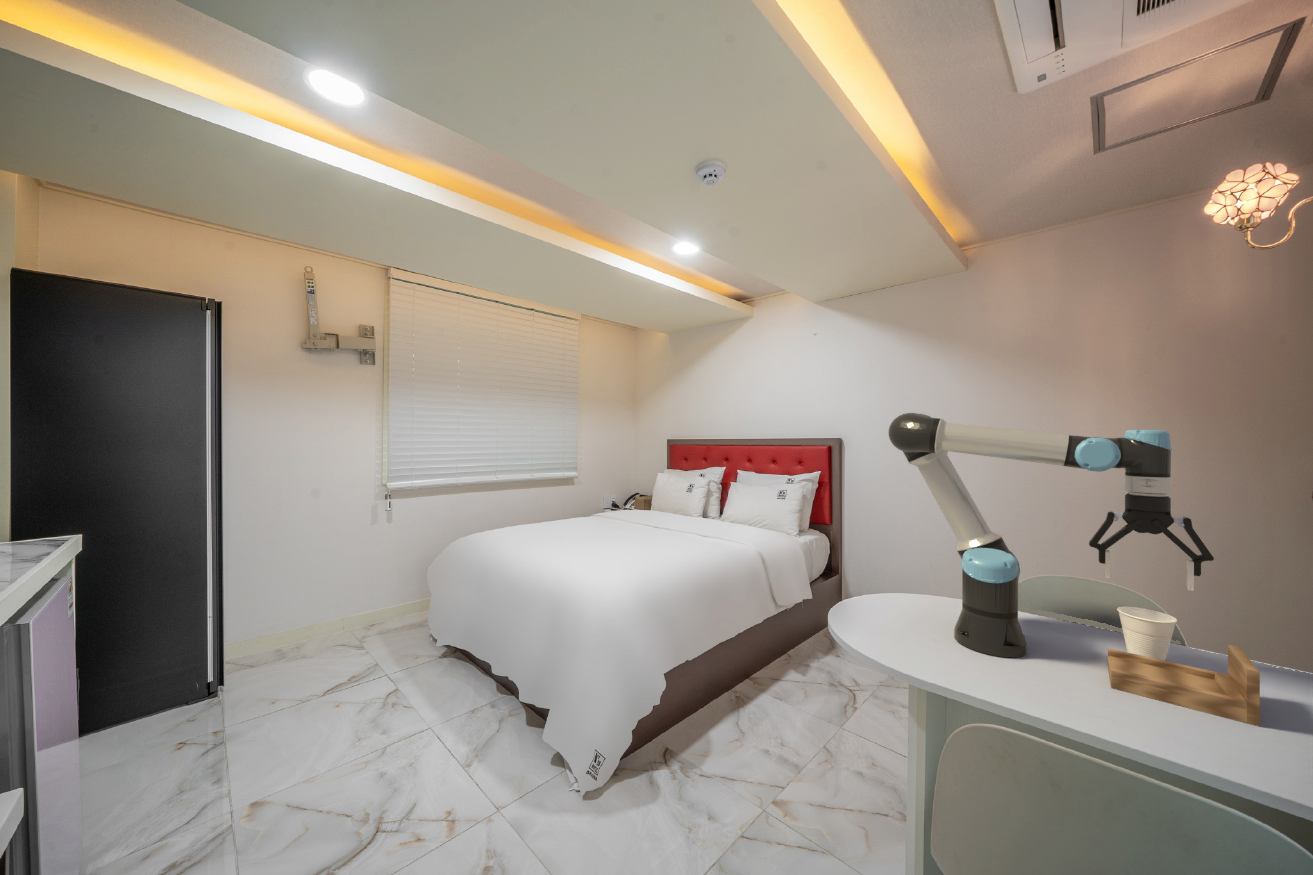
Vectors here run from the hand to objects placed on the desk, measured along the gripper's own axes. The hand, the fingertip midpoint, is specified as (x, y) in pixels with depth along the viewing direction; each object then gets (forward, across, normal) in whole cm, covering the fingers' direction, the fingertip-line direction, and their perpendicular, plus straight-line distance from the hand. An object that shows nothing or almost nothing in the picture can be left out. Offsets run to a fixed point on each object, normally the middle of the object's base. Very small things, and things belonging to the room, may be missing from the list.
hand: (1146, 583), depth 110 cm
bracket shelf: (+18, +2, -16) cm, 24 cm away
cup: (+19, 0, 0) cm, 19 cm away
